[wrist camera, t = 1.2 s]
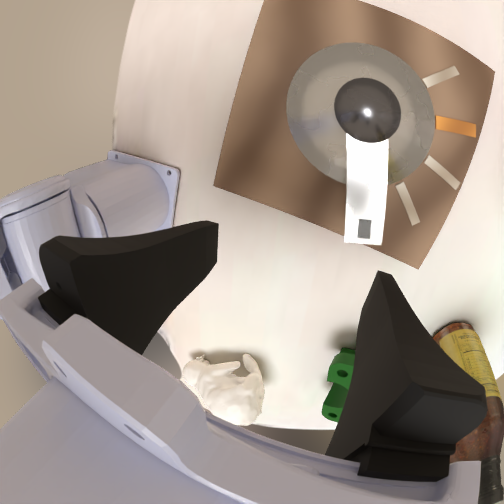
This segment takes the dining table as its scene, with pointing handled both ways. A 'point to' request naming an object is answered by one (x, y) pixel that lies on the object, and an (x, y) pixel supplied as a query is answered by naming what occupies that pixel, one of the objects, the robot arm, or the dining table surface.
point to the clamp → (338, 383)
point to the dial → (361, 126)
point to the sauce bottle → (498, 417)
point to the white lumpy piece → (228, 388)
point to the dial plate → (297, 165)
